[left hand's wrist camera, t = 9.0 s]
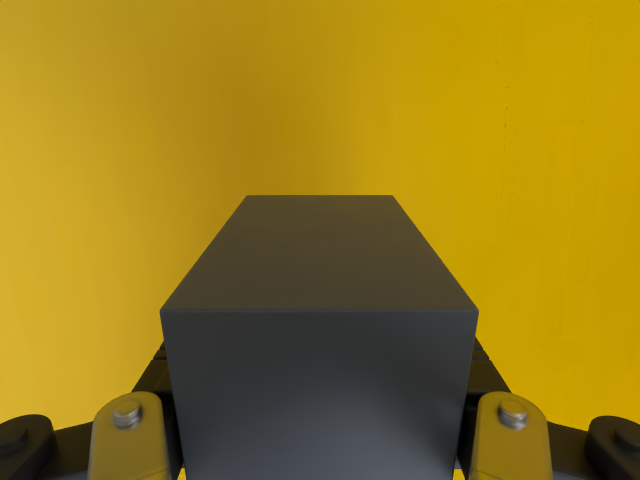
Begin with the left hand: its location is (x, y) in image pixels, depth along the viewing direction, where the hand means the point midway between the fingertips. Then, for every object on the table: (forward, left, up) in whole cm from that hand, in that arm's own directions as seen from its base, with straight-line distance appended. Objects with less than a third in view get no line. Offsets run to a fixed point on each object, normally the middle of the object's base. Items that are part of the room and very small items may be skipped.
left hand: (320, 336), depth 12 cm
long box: (+10, +1, -5) cm, 11 cm away
